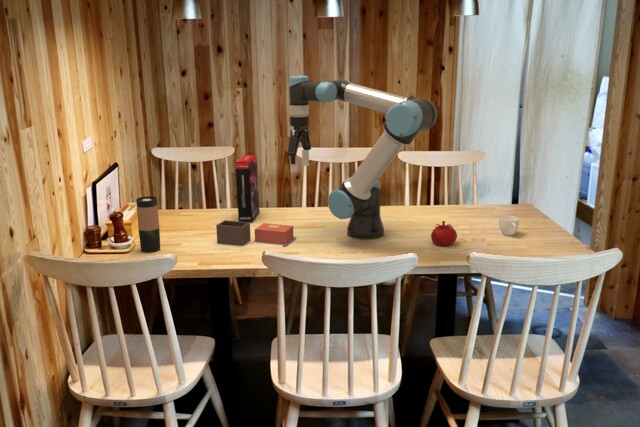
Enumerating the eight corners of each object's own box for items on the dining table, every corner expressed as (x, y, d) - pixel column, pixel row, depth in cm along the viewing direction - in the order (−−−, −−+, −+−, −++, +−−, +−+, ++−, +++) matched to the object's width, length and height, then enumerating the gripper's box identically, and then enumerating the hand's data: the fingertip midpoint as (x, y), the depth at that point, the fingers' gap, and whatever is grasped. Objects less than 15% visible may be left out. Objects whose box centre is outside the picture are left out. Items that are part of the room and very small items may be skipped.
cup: (513, 231, 259) (514, 215, 257) (523, 238, 249) (525, 222, 247) (495, 231, 258) (496, 216, 256) (505, 239, 248) (506, 222, 246)
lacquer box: (250, 242, 246) (249, 222, 244) (243, 247, 240) (242, 227, 238) (225, 239, 250) (224, 220, 248) (217, 244, 243) (216, 225, 241)
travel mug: (162, 246, 242) (159, 196, 237) (158, 252, 235) (154, 201, 229) (143, 246, 242) (138, 196, 236) (138, 253, 234) (133, 201, 229)
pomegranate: (461, 245, 242) (463, 222, 239) (441, 249, 237) (443, 226, 234) (444, 238, 250) (446, 215, 247) (424, 241, 245) (426, 219, 243)
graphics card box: (252, 223, 272) (250, 161, 265) (237, 223, 273) (234, 161, 265) (259, 212, 288) (258, 154, 281) (245, 212, 289) (242, 154, 282)
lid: (293, 237, 249) (293, 224, 248) (285, 244, 241) (285, 231, 240) (263, 234, 253) (263, 222, 252) (255, 241, 245) (254, 228, 244)
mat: (295, 238, 250) (295, 237, 250) (285, 246, 240) (285, 245, 240) (263, 235, 255) (263, 234, 255) (252, 243, 245) (252, 242, 244)
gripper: (301, 112, 258) (301, 162, 264) (278, 119, 235) (279, 174, 241) (318, 112, 256) (318, 163, 262) (297, 119, 233) (297, 175, 239)
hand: (299, 168), depth 251 cm, fingers open, 13 cm apart
